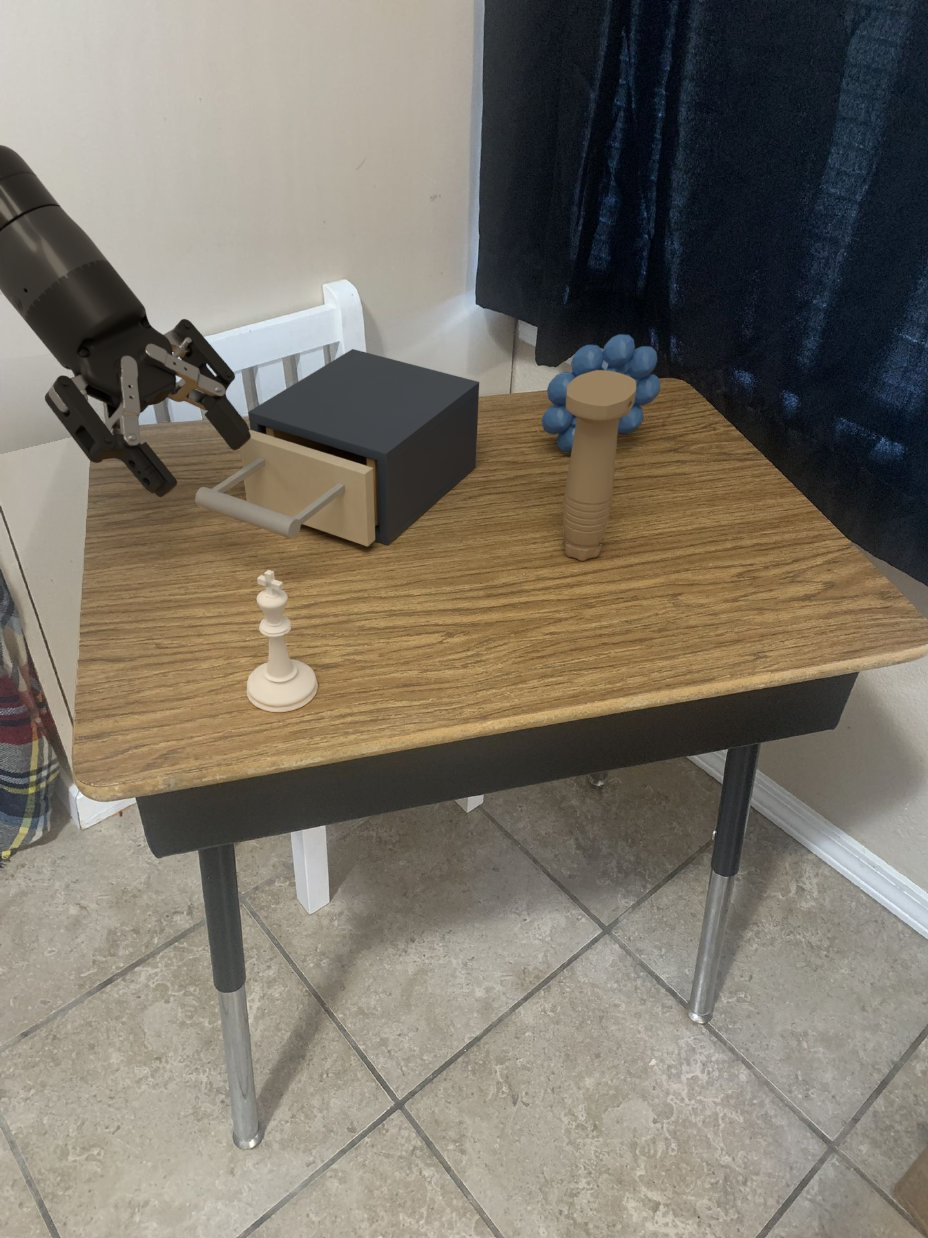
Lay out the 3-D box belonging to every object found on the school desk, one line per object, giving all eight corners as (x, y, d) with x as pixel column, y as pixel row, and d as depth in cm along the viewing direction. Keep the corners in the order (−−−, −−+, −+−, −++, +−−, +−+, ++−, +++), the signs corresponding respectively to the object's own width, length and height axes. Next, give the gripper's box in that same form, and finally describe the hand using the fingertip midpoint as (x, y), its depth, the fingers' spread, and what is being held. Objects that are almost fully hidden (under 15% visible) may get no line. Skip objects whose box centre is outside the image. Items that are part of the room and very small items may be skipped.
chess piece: (273, 657, 71) (259, 543, 65) (331, 678, 70) (322, 563, 63) (232, 698, 68) (213, 581, 61) (292, 721, 66) (279, 604, 60)
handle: (622, 542, 84) (647, 379, 75) (591, 579, 80) (614, 411, 71) (571, 526, 86) (590, 365, 77) (538, 561, 82) (554, 395, 73)
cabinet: (388, 545, 83) (386, 453, 78) (258, 501, 88) (247, 411, 83) (476, 467, 94) (479, 381, 89) (356, 431, 99) (352, 348, 94)
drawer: (312, 595, 76) (306, 519, 71) (186, 547, 80) (173, 473, 76) (453, 471, 91) (455, 403, 87) (341, 438, 96) (337, 371, 92)
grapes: (634, 427, 102) (651, 314, 94) (659, 458, 97) (679, 341, 89) (526, 436, 99) (535, 321, 92) (546, 469, 94) (557, 350, 87)
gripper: (3, 288, 64) (165, 486, 67) (154, 233, 74) (289, 407, 77) (-30, 348, 70) (121, 529, 73) (115, 289, 80) (243, 450, 83)
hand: (208, 466), depth 75 cm, fingers open, 8 cm apart
